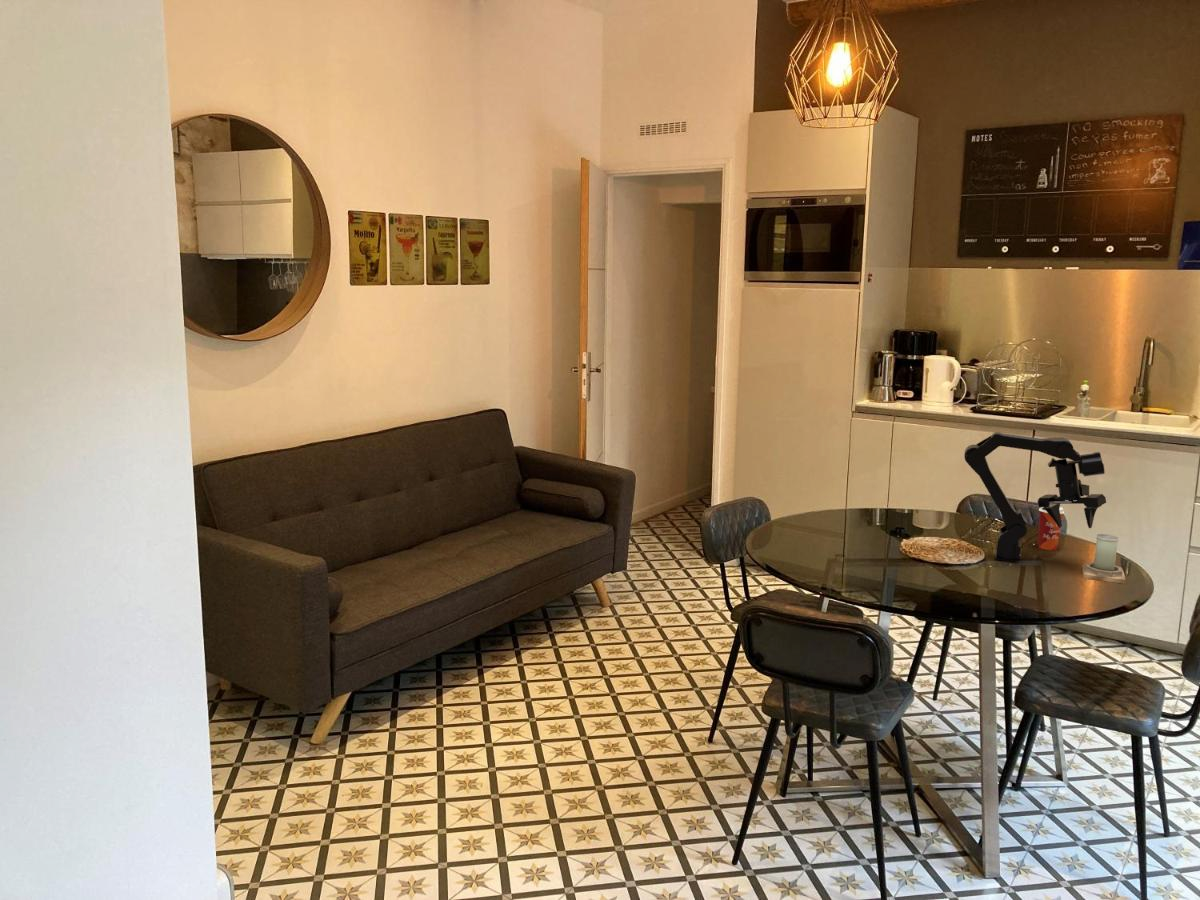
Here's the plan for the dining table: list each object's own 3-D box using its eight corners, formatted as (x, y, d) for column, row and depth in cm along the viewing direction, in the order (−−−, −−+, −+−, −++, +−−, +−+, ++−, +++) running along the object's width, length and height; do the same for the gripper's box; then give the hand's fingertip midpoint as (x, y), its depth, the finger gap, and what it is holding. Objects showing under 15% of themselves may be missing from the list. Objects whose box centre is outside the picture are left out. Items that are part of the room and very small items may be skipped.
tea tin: (1099, 575, 281) (1103, 539, 279) (1088, 568, 287) (1092, 534, 285) (1118, 574, 281) (1122, 539, 279) (1107, 568, 287) (1111, 534, 285)
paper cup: (1045, 552, 308) (1050, 510, 305) (1029, 545, 315) (1033, 504, 313) (1065, 550, 310) (1070, 509, 307) (1049, 544, 317) (1053, 503, 315)
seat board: (1083, 578, 281) (1084, 569, 281) (1081, 568, 291) (1082, 559, 291) (1125, 583, 277) (1126, 574, 276) (1122, 573, 287) (1123, 564, 286)
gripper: (1110, 471, 287) (1118, 521, 288) (1050, 473, 302) (1058, 520, 303) (1093, 480, 280) (1101, 531, 282) (1033, 481, 295) (1041, 529, 297)
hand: (1075, 527), depth 291 cm, fingers open, 9 cm apart
